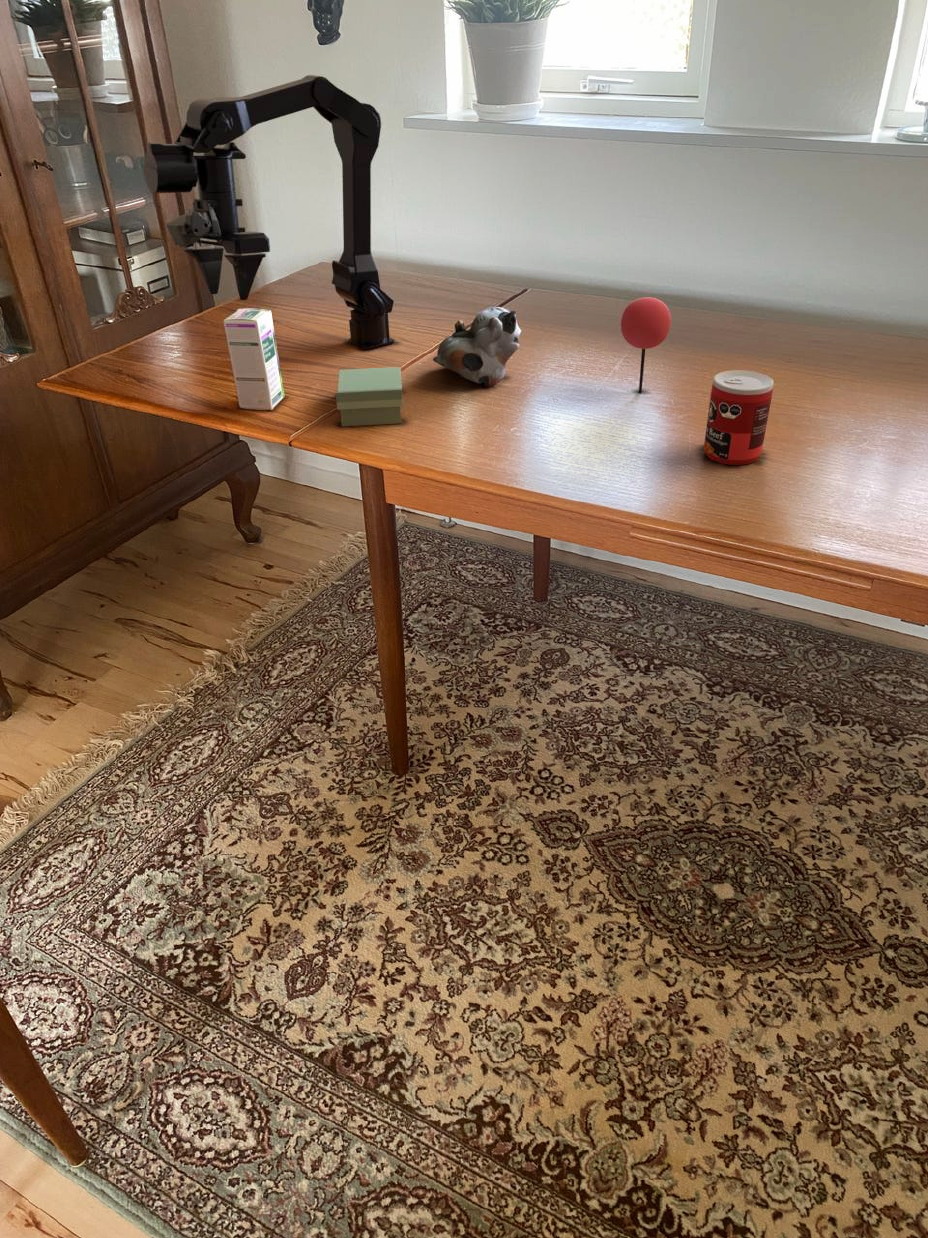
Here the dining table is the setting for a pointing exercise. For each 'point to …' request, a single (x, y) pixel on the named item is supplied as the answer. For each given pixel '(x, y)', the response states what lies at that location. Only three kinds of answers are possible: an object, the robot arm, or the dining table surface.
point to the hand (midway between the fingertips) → (228, 296)
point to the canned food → (737, 416)
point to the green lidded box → (369, 396)
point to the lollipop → (645, 325)
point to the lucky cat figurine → (481, 346)
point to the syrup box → (254, 358)
